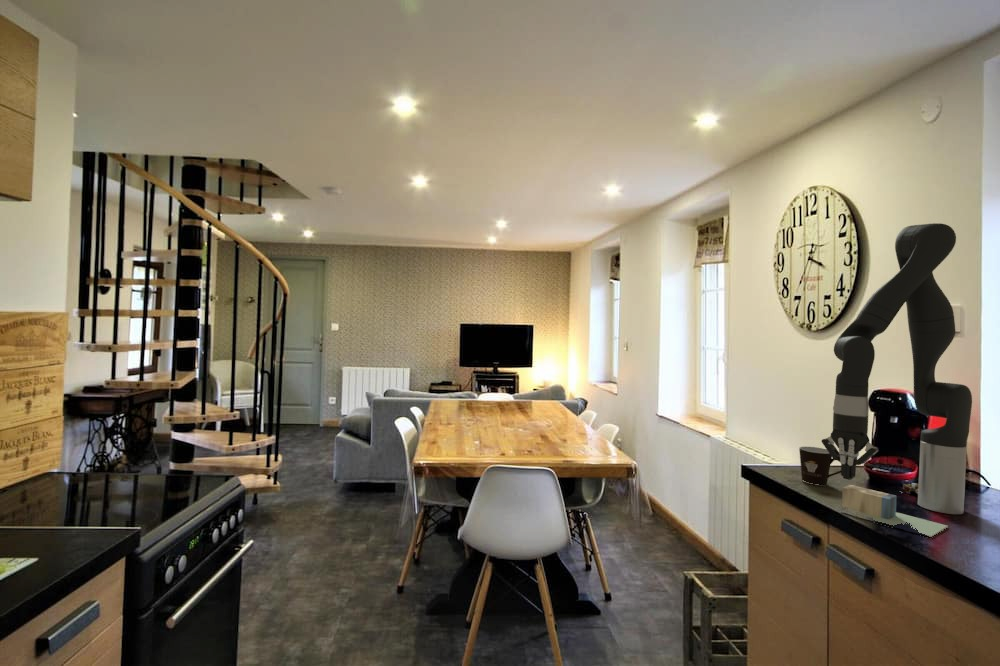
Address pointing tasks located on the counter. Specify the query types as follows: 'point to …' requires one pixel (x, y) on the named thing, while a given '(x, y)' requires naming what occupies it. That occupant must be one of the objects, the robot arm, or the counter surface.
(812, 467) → the coffee mug
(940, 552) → the counter surface
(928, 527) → the green mat
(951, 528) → the counter surface
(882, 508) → the maple block
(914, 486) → the wrapped sandwich
